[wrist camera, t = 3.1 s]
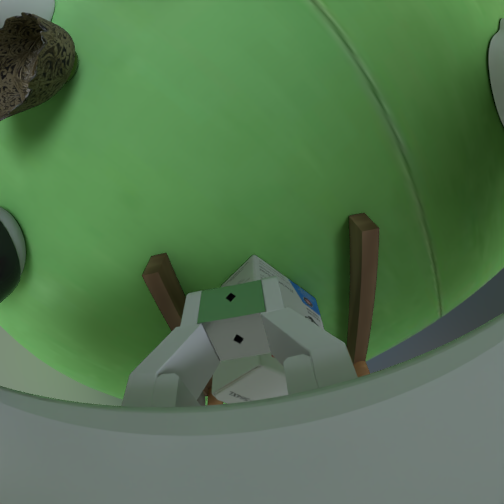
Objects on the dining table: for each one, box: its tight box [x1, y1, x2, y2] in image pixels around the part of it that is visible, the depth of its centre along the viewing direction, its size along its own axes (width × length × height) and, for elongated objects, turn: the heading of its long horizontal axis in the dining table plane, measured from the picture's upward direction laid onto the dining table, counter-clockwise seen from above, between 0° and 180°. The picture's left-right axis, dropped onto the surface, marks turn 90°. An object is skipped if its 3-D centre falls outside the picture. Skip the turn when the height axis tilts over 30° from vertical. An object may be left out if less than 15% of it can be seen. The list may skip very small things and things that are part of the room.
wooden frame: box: [142, 213, 379, 406], centre depth 24 cm, size 22×19×7 cm
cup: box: [0, 12, 78, 121], centre depth 10 cm, size 8×7×8 cm
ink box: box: [212, 255, 324, 404], centre depth 21 cm, size 9×5×12 cm, turn 49°
